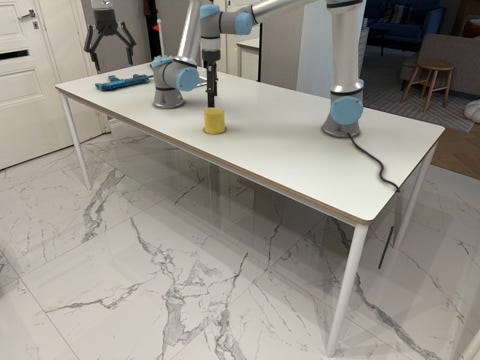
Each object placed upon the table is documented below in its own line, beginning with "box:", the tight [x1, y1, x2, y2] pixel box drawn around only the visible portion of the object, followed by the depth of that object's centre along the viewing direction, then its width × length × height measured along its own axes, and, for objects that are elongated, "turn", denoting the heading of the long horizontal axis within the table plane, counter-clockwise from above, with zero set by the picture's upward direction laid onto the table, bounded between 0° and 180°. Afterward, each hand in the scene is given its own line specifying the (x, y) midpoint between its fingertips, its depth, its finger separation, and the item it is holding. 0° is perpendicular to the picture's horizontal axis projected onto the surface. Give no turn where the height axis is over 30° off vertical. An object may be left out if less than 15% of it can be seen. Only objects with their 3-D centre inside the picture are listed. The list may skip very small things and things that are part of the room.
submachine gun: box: [94, 73, 154, 91], centre depth 208 cm, size 34×4×25 cm
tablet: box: [195, 75, 207, 88], centre depth 213 cm, size 32×20×1 cm, turn 41°
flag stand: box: [152, 18, 173, 60], centre depth 234 cm, size 13×13×30 cm
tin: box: [203, 106, 226, 135], centre depth 149 cm, size 9×9×9 cm
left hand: (115, 67), depth 137 cm, fingers open, 13 cm apart
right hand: (212, 101), depth 144 cm, fingers open, 13 cm apart
